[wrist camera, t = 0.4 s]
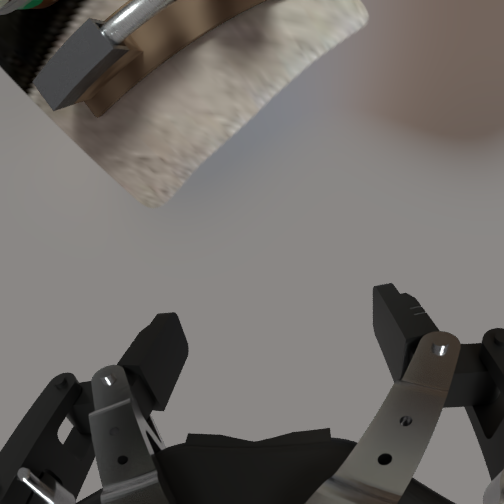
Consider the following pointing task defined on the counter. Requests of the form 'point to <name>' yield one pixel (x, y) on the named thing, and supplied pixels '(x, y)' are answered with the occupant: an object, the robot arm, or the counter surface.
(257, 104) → the counter surface
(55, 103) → the sleeve
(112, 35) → the tube
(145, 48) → the dock
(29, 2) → the food container
